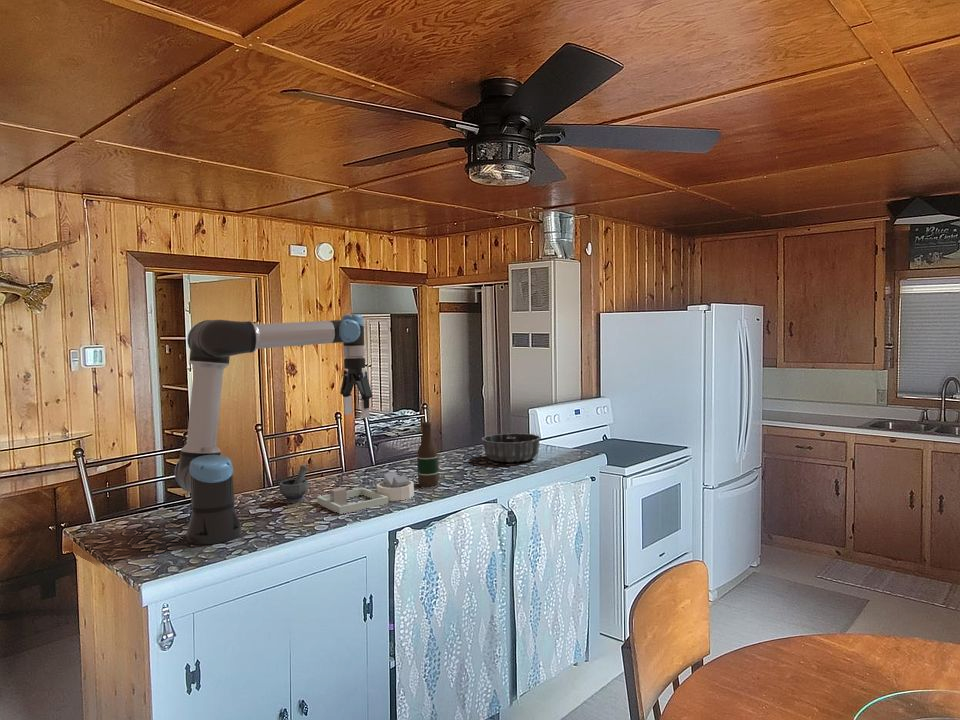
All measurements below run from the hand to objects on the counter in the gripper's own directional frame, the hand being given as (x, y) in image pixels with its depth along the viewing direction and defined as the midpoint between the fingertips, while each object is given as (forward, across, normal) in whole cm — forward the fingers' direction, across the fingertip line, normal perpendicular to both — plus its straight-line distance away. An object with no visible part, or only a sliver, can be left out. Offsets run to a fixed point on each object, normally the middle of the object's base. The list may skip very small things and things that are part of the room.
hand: (356, 416), depth 237 cm
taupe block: (+29, -10, +13) cm, 33 cm away
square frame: (+29, -10, +8) cm, 31 cm away
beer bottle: (+29, -6, -26) cm, 39 cm away
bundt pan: (+29, +7, -79) cm, 84 cm away
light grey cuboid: (+25, -13, -8) cm, 29 cm away
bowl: (+29, -12, -8) cm, 32 cm away
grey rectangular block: (+27, -14, -8) cm, 31 cm away
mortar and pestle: (+29, +8, +21) cm, 37 cm away
